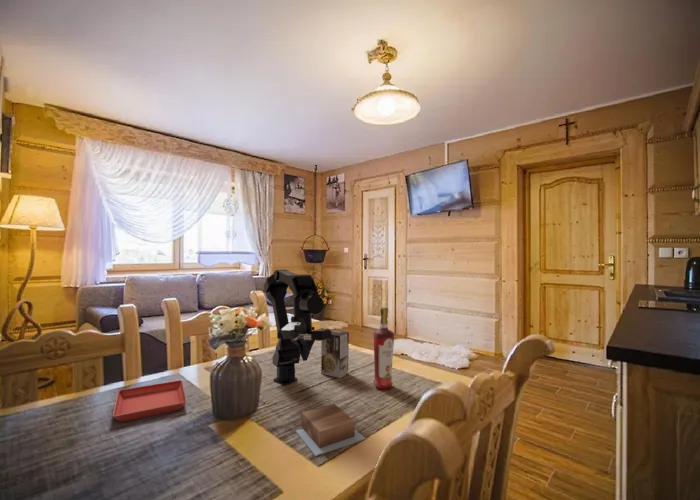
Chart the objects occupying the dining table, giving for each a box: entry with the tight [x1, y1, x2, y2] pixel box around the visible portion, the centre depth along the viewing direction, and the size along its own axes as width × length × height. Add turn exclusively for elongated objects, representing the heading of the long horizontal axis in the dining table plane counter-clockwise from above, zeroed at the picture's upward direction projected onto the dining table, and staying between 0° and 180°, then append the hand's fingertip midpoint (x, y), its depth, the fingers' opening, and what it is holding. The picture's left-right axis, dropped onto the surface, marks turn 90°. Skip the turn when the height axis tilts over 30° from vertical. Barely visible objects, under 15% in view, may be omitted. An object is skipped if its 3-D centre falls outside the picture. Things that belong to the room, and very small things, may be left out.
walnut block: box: [301, 403, 356, 448], centre depth 87 cm, size 4×10×11 cm
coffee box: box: [320, 329, 350, 379], centre depth 129 cm, size 9×6×16 cm
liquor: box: [372, 306, 395, 390], centre depth 117 cm, size 7×7×28 cm
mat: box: [295, 428, 366, 457], centre depth 86 cm, size 12×14×1 cm
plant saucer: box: [112, 379, 187, 423], centre depth 101 cm, size 18×18×3 cm
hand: (305, 360), depth 108 cm, fingers closed
